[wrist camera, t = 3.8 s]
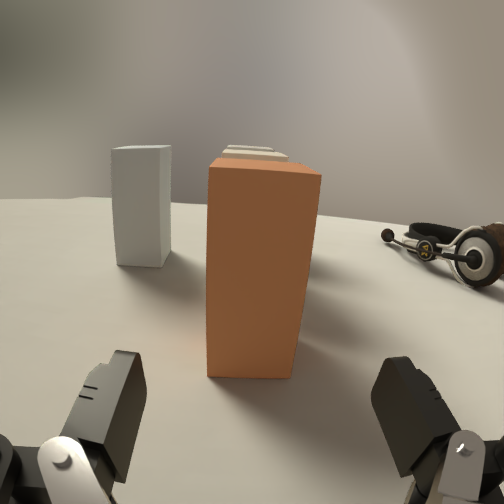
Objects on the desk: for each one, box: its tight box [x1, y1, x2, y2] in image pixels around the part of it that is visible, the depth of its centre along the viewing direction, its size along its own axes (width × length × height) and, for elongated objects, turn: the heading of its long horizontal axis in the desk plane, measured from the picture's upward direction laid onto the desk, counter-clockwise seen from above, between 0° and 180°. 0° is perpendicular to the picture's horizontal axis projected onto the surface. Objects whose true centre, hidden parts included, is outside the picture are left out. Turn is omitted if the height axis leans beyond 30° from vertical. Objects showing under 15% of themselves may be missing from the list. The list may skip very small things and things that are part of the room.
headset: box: [381, 222, 504, 288], centre depth 38 cm, size 17×8×20 cm
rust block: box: [206, 158, 321, 378], centre depth 18 cm, size 5×5×12 cm
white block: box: [111, 145, 171, 268], centre depth 31 cm, size 5×5×12 cm
